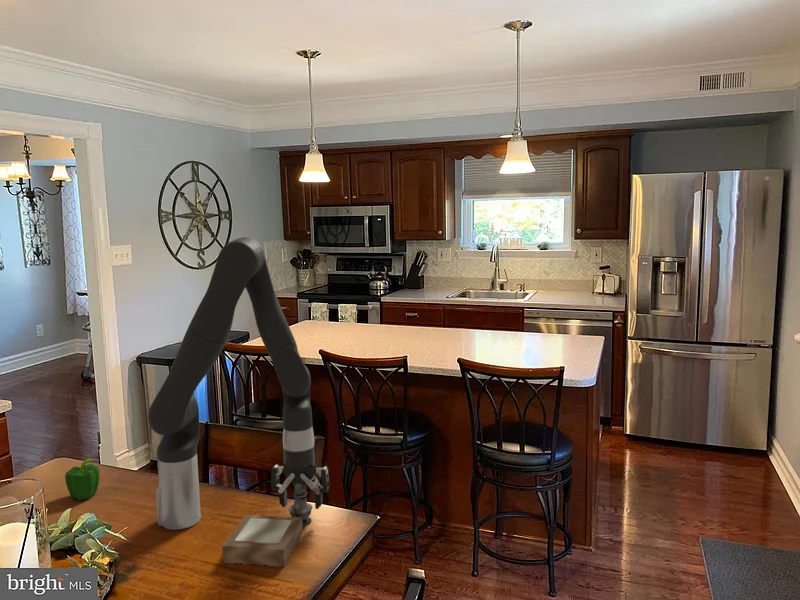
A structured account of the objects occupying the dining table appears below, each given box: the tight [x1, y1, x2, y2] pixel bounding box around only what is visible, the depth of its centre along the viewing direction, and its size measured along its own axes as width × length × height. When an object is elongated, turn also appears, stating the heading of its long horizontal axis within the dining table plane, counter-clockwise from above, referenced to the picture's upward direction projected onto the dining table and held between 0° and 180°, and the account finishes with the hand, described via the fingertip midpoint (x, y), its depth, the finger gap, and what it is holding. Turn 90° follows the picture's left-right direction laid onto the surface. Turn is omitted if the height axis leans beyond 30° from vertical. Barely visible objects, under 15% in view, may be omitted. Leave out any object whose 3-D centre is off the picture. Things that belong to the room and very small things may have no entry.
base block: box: [222, 514, 304, 568], centre depth 140 cm, size 14×14×4 cm
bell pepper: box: [64, 458, 101, 501], centre depth 166 cm, size 8×8×10 cm
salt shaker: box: [288, 484, 313, 528], centre depth 151 cm, size 6×6×12 cm
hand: (301, 506), depth 151 cm, fingers open, 8 cm apart
